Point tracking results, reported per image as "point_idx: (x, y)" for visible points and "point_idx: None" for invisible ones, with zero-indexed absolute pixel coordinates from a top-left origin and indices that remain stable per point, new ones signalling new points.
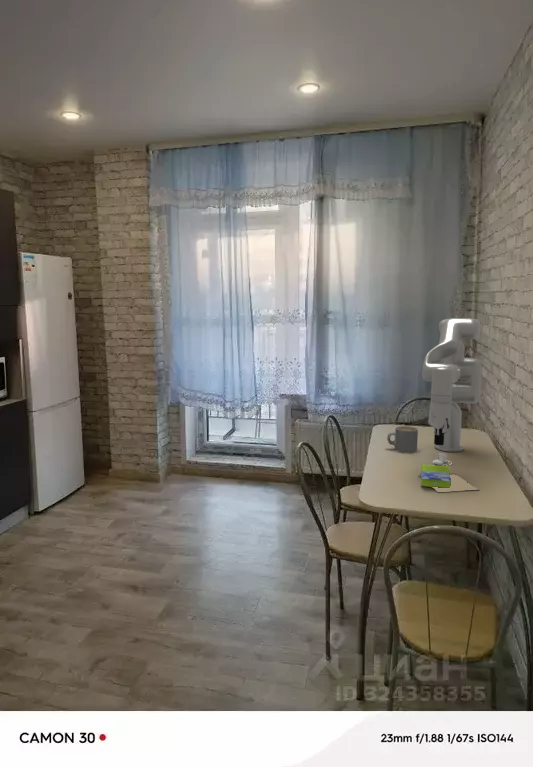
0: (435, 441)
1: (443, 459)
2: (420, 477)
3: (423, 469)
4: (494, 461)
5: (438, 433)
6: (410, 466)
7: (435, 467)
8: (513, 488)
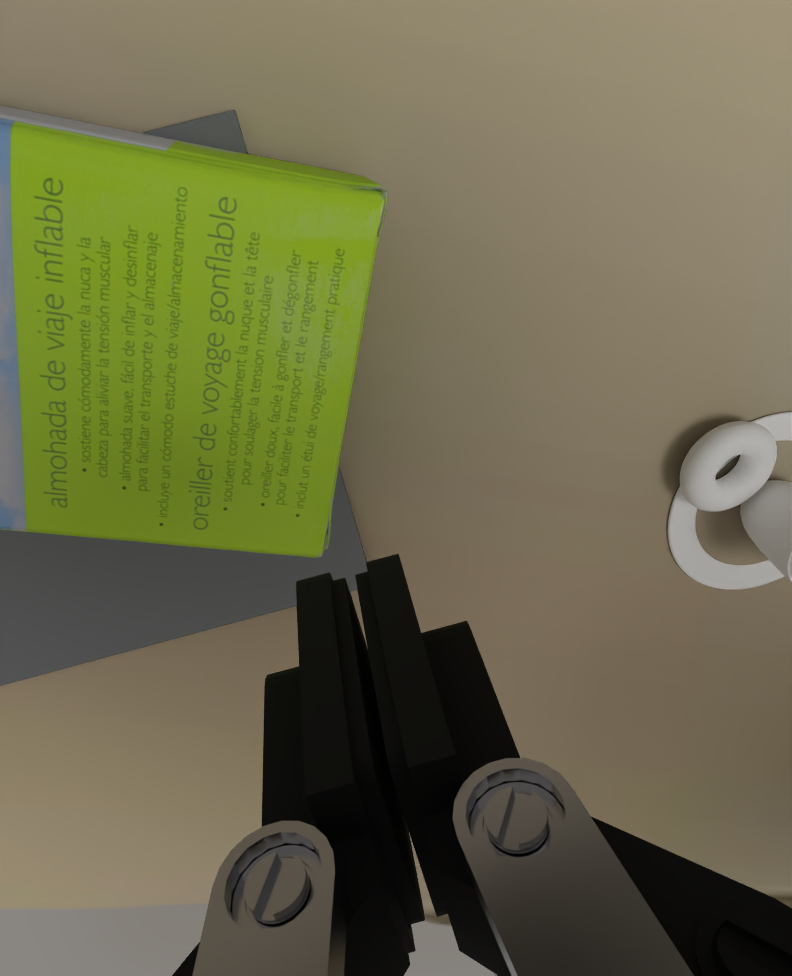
0: (326, 623)
1: (757, 533)
2: (181, 132)
3: (86, 167)
4: (715, 857)
5: (199, 950)
6: (689, 82)
7: (234, 386)
8: (91, 900)
